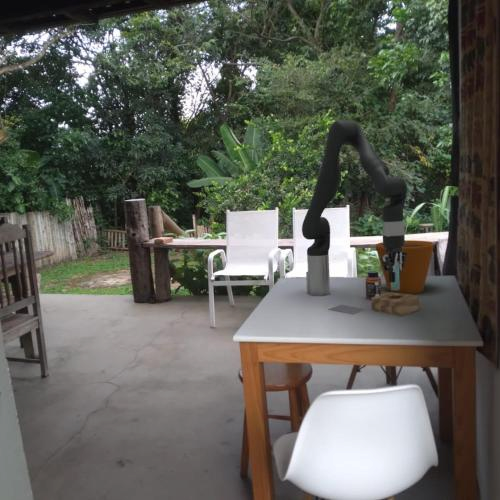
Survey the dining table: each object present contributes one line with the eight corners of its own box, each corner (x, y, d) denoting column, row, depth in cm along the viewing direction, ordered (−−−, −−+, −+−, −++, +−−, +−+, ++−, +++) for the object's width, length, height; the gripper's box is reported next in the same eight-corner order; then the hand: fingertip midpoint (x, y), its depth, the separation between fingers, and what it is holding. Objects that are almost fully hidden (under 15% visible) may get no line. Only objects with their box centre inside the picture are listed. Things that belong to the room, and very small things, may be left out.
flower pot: (446, 289, 206) (446, 242, 203) (410, 298, 193) (409, 248, 190) (400, 282, 225) (399, 239, 223) (365, 290, 212) (363, 245, 210)
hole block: (371, 311, 177) (371, 298, 177) (390, 304, 185) (389, 291, 185) (401, 316, 168) (400, 302, 168) (419, 309, 176) (418, 295, 176)
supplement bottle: (381, 301, 192) (381, 272, 190) (366, 301, 193) (365, 273, 192) (380, 297, 198) (380, 270, 196) (365, 297, 199) (365, 270, 197)
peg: (389, 289, 176) (388, 262, 175) (393, 288, 178) (393, 261, 177) (396, 290, 174) (395, 263, 172) (401, 289, 176) (400, 262, 174)
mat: (326, 310, 182) (326, 309, 182) (341, 305, 188) (341, 304, 188) (353, 315, 173) (353, 314, 173) (367, 310, 179) (367, 309, 179)
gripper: (395, 231, 181) (396, 277, 183) (373, 235, 172) (374, 283, 174) (413, 232, 175) (414, 279, 177) (391, 236, 166) (393, 285, 168)
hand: (394, 281), depth 175 cm, fingers closed on peg, 3 cm apart
